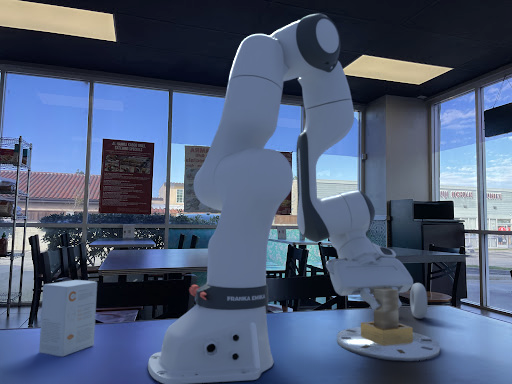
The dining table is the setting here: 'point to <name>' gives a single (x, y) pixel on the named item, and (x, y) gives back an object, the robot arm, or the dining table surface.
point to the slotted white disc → (388, 343)
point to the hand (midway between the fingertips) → (388, 307)
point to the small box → (68, 317)
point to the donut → (418, 300)
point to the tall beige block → (386, 308)
